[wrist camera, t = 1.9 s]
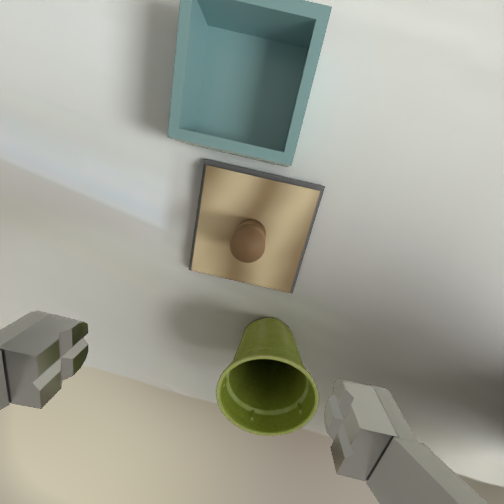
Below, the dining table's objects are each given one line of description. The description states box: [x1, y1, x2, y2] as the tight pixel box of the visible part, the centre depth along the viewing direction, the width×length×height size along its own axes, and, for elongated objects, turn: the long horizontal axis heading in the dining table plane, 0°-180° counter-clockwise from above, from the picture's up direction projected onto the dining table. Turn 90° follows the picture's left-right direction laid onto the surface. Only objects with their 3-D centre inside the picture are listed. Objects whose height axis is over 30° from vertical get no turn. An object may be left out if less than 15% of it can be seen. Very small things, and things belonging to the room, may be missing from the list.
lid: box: [191, 165, 320, 293], centre depth 23 cm, size 11×11×5 cm
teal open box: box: [168, 0, 332, 167], centre depth 20 cm, size 10×10×5 cm
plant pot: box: [216, 318, 319, 436], centre depth 26 cm, size 9×9×9 cm
